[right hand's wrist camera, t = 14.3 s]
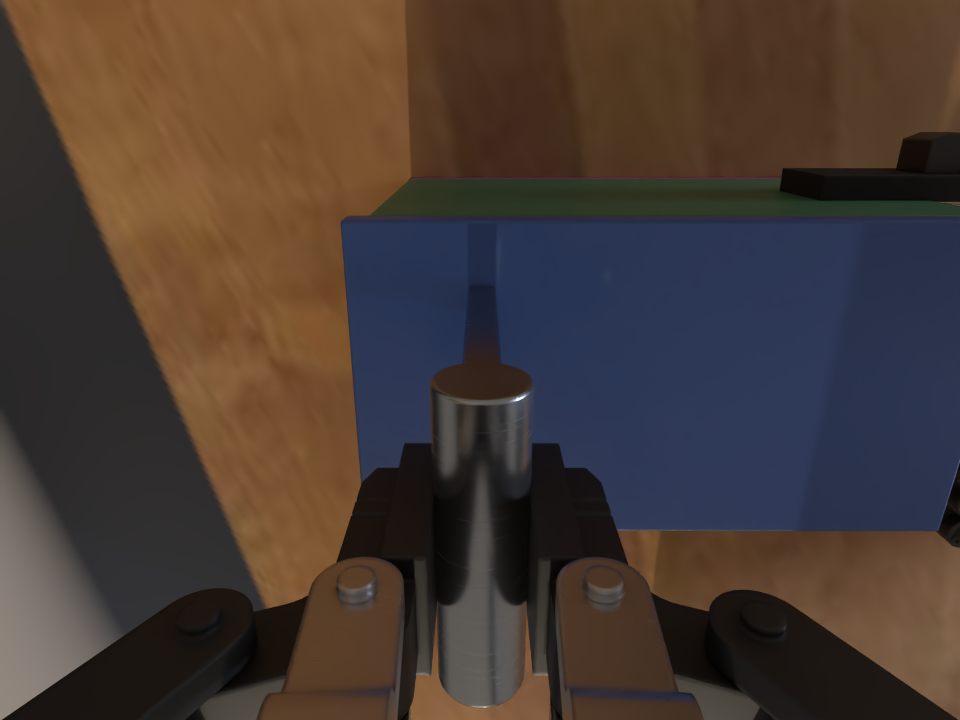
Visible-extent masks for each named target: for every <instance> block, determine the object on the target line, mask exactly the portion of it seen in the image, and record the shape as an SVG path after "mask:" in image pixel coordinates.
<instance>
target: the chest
mask: <svg viewBox="0 0 960 720" xmlns="http://www.w3.org/2000/svg"><path fill="white" fill-rule="evenodd" d="M780 184H781V178H440V177H411V178H410V179H409V181H408V182H407V183H406V184H405V185H403V186H402V187H401V188H400V189H399V190H398V191H397V192H396V193H394V194H393V195H392V196H391V197H390V198H389V199H388V200H387V201H385V202H384V203H383V204H382V205H381V206H380V207H379V208H378V209H376V210H375V211H374V212H373V213H372V214H371V215H370V216H960V206H956V205H951V204H945V203H940V202H935V201H819V200H815V199H811V198H807V197H803V196H799V195H795V194H791V193H787V192H783V191H779V190H780Z"/></svg>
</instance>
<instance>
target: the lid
mask: <svg viewBox="0 0 960 720" xmlns="http://www.w3.org/2000/svg"><path fill="white" fill-rule="evenodd" d="M341 234H342V246H343V259H344V272H345V284H346V297H347V310H348V322H349V335H350V348H351V360H352V373H353V386H354V398H355V411H356V424H357V436H358V449H359V462H360V474H361V484H362V482H363V481H364V480H365V479H366V478H367V477H368V476H369V475H370V474H371V473H372V472H373V471H374V470H375V469H376V468H399V464H400V460H401V455H402V451H403V447H404V444H405V443H431V448H432V480H433V492H434V507H435V539H436V572H437V638H438V670H439V679H440V682H441V684H442V686H443V688H444V689H445V691H446V692H447V693H448V694H449V695H450V696H451V697H452V698H453V699H454V700H456V701H457V702H459V703H461V704H463V705H466V706H470V707H475V708H488V707H494V706H497V705H500V704H502V703H504V702H506V701H507V700H509V699H510V698H511V697H513V696H514V695H515V694H516V692H517V691H518V689H519V688H520V686H521V684H522V682H523V679H524V673H525V643H526V614H527V606H526V585H527V555H528V525H529V495H530V490H531V466H532V443H559V446H560V450H561V454H562V458H563V462H564V467H565V468H587V469H588V470H589V471H590V472H591V473H592V474H593V475H594V476H595V477H596V478H597V479H598V480H599V481H601V483H602V486H603V489H604V492H605V495H606V498H607V502H608V504H609V507H610V510H611V516H612V517H613V520H614V523H615V526H616V529H617V530H624V531H938V530H939V527H940V524H941V521H942V518H943V514H944V511H945V508H946V505H947V502H948V499H949V495H950V492H951V489H952V486H953V483H954V480H955V476H956V473H957V470H958V467H959V464H960V216H348V217H346V218H345V219H343V220H342V221H341Z"/></svg>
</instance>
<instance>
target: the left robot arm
mask: <svg viewBox="0 0 960 720" xmlns="http://www.w3.org/2000/svg"><path fill="white" fill-rule="evenodd" d="M779 191H783V192H787V193H791V194H795V195H799V196H803V197H807V198H811V199H815V200H819V201H935V202H960V132H920V133H917V134H915V135H912V136H909V137H907V138H904V139H903V142H902V146H901V150H900V155H899V159H898V163H897V168H783V172H782V178H781V184H780V190H779ZM936 532H937V533H938V534H940V535H941V536H942V537H943V538H944V539H945V540H946V541H948V542H949V543H950V544H951V545H952V546H955V547H960V464H959V467H958V470H957V473H956V476H955V480H954V483H953V486H952V489H951V492H950V495H949V499H948V502H947V505H946V508H945V511H944V514H943V518H942V521H941V524H940V527H939V530H938V531H936Z"/></svg>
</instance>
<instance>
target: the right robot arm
mask: <svg viewBox="0 0 960 720" xmlns="http://www.w3.org/2000/svg"><path fill="white" fill-rule="evenodd" d="M526 606H527V616H528V627H529V638H530V649H531V659H532V670H533V676H548V678H549V687H550V709H549V720H958V719H956V718H955V717H953V716H952V715H950V714H949V713H947V712H946V711H944V710H943V709H942V708H940V707H939V706H937V705H936V704H934V703H933V702H931V701H930V700H928V699H927V698H926V697H924V696H923V695H921V694H920V693H918V692H917V691H915V690H914V689H912V688H911V687H910V686H908V685H907V684H905V683H904V682H902V681H901V680H899V679H898V678H896V677H895V676H894V675H892V674H891V673H889V672H888V671H886V670H885V669H883V668H882V667H881V666H879V665H878V664H876V663H875V662H873V661H872V660H870V659H869V658H867V657H866V656H865V655H863V654H862V653H860V652H859V651H857V650H856V649H854V648H853V647H851V646H850V645H849V644H847V643H846V642H844V641H843V640H841V639H840V638H838V637H837V636H835V635H834V634H833V633H831V632H830V631H828V630H827V629H825V628H824V627H822V626H821V625H819V624H818V623H817V622H815V621H814V620H812V619H811V618H809V617H808V616H806V615H805V614H803V613H802V612H801V611H799V610H798V609H796V608H795V607H793V606H792V605H790V604H788V603H787V602H785V601H783V600H781V599H779V598H777V597H774V596H772V595H769V594H766V593H762V592H758V591H752V590H733V591H729V592H726V593H723V594H721V595H719V596H718V597H716V598H715V599H714V601H713V602H712V604H711V606H710V609H709V612H708V611H704V610H700V609H695V608H691V607H687V606H683V605H679V604H675V603H672V602H669V601H667V600H664V599H662V598H660V597H658V596H656V595H654V594H653V593H651V591H650V588H649V585H648V583H647V582H646V580H645V579H644V577H643V576H642V575H641V574H640V573H639V572H638V571H636V570H635V569H634V568H632V567H631V566H629V565H628V562H627V559H626V556H625V553H624V550H623V547H622V544H621V541H620V538H619V535H618V532H617V529H616V526H615V523H614V520H613V517H612V516H611V510H610V507H609V504H608V502H607V498H606V495H605V492H604V489H603V486H602V483H601V481H599V480H598V479H597V478H596V477H595V476H594V475H593V474H592V473H591V472H590V471H589V470H588V469H587V468H565V467H564V462H563V458H562V454H561V450H560V446H559V443H532V466H531V490H530V495H529V525H528V555H527V585H526ZM436 611H437V572H436V539H435V507H434V492H433V480H432V448H431V443H405V444H404V447H403V451H402V455H401V460H400V464H399V468H376V469H375V470H374V471H373V472H372V473H371V474H370V475H369V476H368V477H367V478H366V479H365V480H364V481H363V482H362V484H361V487H360V490H359V493H358V497H357V502H356V503H355V506H354V509H353V512H352V516H351V519H350V522H349V525H348V528H347V531H346V534H345V537H344V540H343V544H342V547H341V550H340V553H339V556H338V559H337V562H336V563H335V564H333V565H331V566H329V567H328V568H326V569H325V570H324V571H322V572H321V573H320V574H319V575H318V576H317V577H316V579H315V580H314V582H313V583H312V585H311V588H310V591H309V595H308V596H306V597H304V598H302V599H300V600H297V601H295V602H292V603H288V604H285V605H281V606H277V607H273V608H269V609H264V610H260V611H256V612H253V607H252V604H251V602H250V600H249V599H248V598H247V597H246V596H245V595H244V594H242V593H240V592H238V591H235V590H231V589H224V588H215V589H207V590H202V591H198V592H194V593H192V594H189V595H186V596H184V597H182V598H180V599H178V600H176V601H175V602H173V603H171V604H170V605H168V606H167V607H165V608H164V609H162V610H161V611H159V612H158V613H157V614H155V615H154V616H152V617H151V618H149V619H148V620H146V621H145V622H143V623H142V624H141V625H139V626H138V627H136V628H135V629H133V630H132V631H130V632H129V633H128V634H126V635H125V636H123V637H122V638H120V639H119V640H117V641H116V642H114V643H113V644H111V645H110V646H109V647H107V648H106V649H104V650H103V651H101V652H100V653H98V654H97V655H95V656H94V657H93V658H91V659H90V660H88V661H87V662H85V663H84V664H83V665H81V666H80V667H78V668H77V669H75V670H74V671H72V672H71V673H69V674H68V675H66V676H65V677H64V678H62V679H61V680H59V681H58V682H56V683H55V684H53V685H52V686H50V687H49V688H48V689H46V690H45V691H43V692H42V693H40V694H39V695H37V696H36V697H34V698H33V699H32V700H30V701H29V702H27V703H26V704H24V705H23V706H21V707H20V708H18V709H17V710H16V711H14V712H13V713H11V714H10V715H8V716H7V717H5V718H4V719H2V720H411V709H410V706H411V704H412V701H413V696H414V688H415V680H416V676H431V669H432V657H433V645H434V634H435V622H436Z"/></svg>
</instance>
